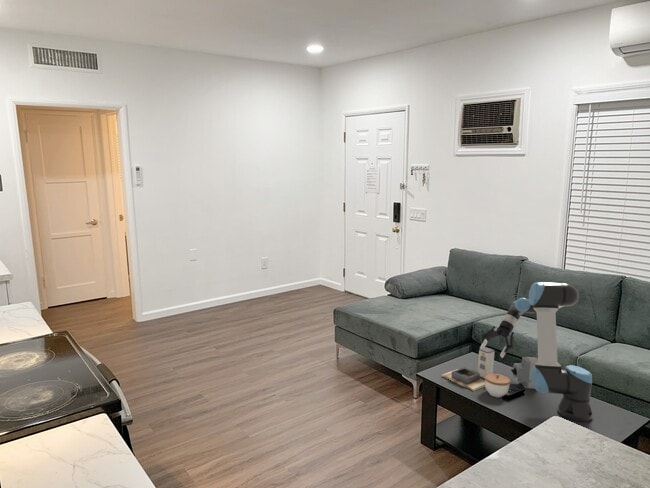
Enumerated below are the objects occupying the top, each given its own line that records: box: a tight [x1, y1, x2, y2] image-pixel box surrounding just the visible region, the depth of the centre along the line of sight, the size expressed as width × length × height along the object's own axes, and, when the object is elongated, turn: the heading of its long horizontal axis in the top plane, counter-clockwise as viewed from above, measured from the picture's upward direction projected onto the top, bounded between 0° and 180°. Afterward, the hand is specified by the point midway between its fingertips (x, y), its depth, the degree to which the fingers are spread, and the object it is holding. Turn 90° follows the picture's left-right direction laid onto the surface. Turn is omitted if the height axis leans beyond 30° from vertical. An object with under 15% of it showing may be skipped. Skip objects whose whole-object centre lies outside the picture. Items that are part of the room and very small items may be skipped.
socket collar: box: [451, 366, 481, 384], centre depth 265 cm, size 11×11×4 cm
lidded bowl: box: [484, 372, 511, 398], centre depth 248 cm, size 13×13×11 cm
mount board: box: [441, 368, 486, 392], centre depth 265 cm, size 22×14×1 cm, turn 35°
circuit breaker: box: [511, 356, 538, 390], centre depth 260 cm, size 8×14×15 cm, turn 88°
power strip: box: [477, 346, 495, 379], centre depth 271 cm, size 6×6×16 cm
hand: (491, 352), depth 274 cm, fingers open, 13 cm apart
